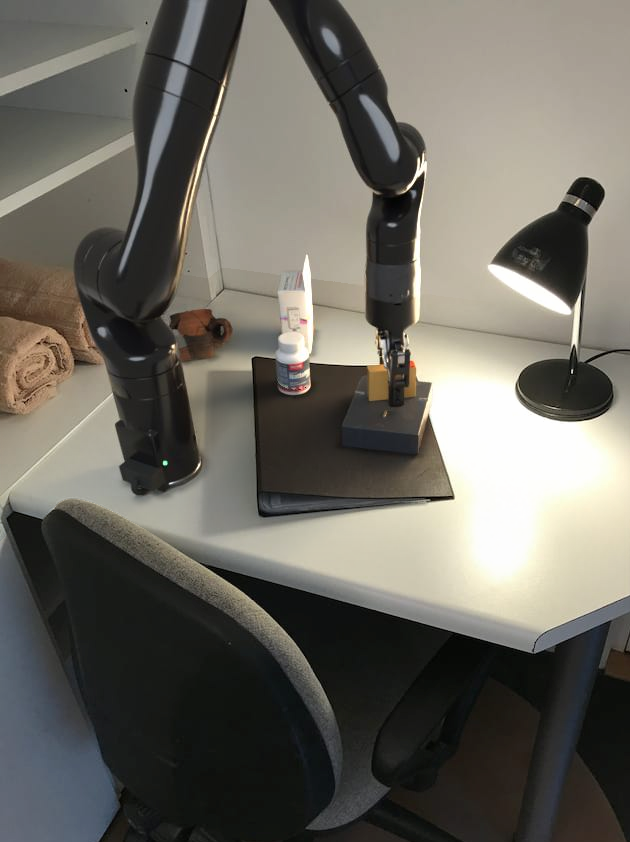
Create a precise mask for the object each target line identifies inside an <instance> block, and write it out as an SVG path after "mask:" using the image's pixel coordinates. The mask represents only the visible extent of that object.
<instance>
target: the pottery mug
mask: <svg viewBox="0 0 630 842" xmlns="http://www.w3.org/2000/svg"><path fill="white" fill-rule="evenodd" d="M169 320H170V323H169V324H168V326H169V327H170V328H171V329H172V331H173V332H174V331H175V330H176V331H177V332H178V334H179V335H181V336H183V337H182V338H183V339H184V342H185V344H186V345H185V346H183V347H179V349H180V355H181V361H182V362H185V361H191V360H192V361H193V360H202V359H210V358H214V356H215V352H214V351H215V348H216V349H217V350H220V349H221V348H222V347H223V344H226V343H227V342H228V341H230V339H231V337H232V335H233V330H234V329H233V326H232V323H231V322H230V321H229V320H228V319H227V318H224V317H217V318H216V317H215V316H214V315H213V310H212V309H211V308H200V309H199V308H198V309H193V310H186V311H181V312H177V313H173V314H171V315H169ZM222 329H223V332H222Z"/></svg>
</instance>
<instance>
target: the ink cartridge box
mask: <svg viewBox="0 0 630 842" xmlns="http://www.w3.org/2000/svg"><path fill="white" fill-rule="evenodd" d="M311 281H312V280H311V268H310V262H309V257H308V254H305V257H304V263H303V267H302V270H282V271H281V274H280V279H279V282H278V286H277V290H276V294H277V300H278V301H277V302H278V308H279V309H278V311H279V318H280V328H281V334H283V333H287V332H297V333H300V334H302V335H303V337H304V347H305V348H306V349H307V350H308V353H309V355H310V354H311V353H312V346H313V339H314V338H313V337H314V313H313V299H312V298H313V297H312V282H311Z"/></svg>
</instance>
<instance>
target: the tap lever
mask: <svg viewBox="0 0 630 842" xmlns="http://www.w3.org/2000/svg"><path fill="white" fill-rule="evenodd" d="M366 376H367V395H368V399H369V401H377V400H387V399H388V383H387V380H388V376H387V370H386V369H385V368H384V367H383V365H380V364H375V365H374V364H373V365H367V366H366ZM397 376H401V375H396V376H395V377H397ZM416 381H417V366H416V363H415V361H414V360H410V372H409V387H406V388H405V387H404V398H407V397H415V396H416Z"/></svg>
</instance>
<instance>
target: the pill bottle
mask: <svg viewBox="0 0 630 842" xmlns="http://www.w3.org/2000/svg"><path fill="white" fill-rule="evenodd" d="M277 345H278V348H277V349H276V351H275V354H274V357H275V370H276V382H277V381H278V383H279V384H280V385H281V386H283V387H285V388H287V389H293V390H295V389H296V390H297V391H288V390H284V389H282V388H280V387H279V386H278V385H277V389H278V390H279V392H281V393H282V394H284V395H287V396H298V395H302V394H305V393H307V392H309V390H310V388H311V371H310V367H311V366H310V354H309V353H308V350H307V349H306V348H305V347H304V337H303V335H302V334H300V333H297V332H287V333H283V334H282V333H281V334H280V335H278V337H277ZM278 383H277V384H278ZM305 387H306V388H305ZM298 389H301V390H298Z"/></svg>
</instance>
